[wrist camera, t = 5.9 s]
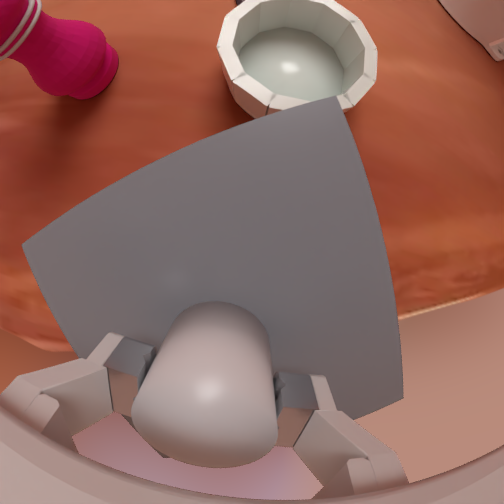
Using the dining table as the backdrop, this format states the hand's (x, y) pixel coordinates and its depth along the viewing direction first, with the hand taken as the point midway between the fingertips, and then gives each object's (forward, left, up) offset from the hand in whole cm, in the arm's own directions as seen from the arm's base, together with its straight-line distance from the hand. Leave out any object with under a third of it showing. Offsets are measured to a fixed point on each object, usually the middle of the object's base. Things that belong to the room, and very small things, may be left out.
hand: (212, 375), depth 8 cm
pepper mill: (+7, -22, -17) cm, 29 cm away
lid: (0, 0, -3) cm, 3 cm away
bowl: (-10, -13, -17) cm, 23 cm away
